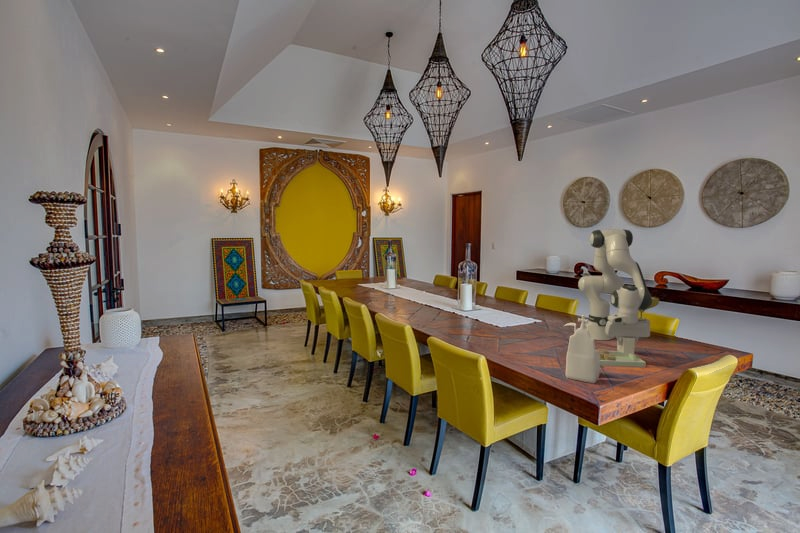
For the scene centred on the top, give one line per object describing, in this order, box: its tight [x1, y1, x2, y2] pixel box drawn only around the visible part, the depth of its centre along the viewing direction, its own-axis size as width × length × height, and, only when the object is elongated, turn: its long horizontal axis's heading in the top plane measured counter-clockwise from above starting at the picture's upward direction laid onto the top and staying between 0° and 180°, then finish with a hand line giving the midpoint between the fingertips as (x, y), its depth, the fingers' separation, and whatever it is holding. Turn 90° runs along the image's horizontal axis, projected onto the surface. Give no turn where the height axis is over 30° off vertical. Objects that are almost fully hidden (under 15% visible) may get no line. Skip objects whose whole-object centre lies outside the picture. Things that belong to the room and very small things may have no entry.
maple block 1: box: [597, 348, 610, 354], centre depth 208 cm, size 4×4×4 cm
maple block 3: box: [604, 354, 616, 361], centre depth 199 cm, size 4×4×4 cm
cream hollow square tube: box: [619, 337, 635, 355], centre depth 200 cm, size 5×5×8 cm
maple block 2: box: [598, 351, 606, 360], centre depth 203 cm, size 4×4×4 cm
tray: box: [599, 350, 647, 368], centre depth 203 cm, size 17×22×4 cm
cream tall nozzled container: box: [563, 314, 601, 384], centre depth 184 cm, size 17×14×30 cm
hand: (626, 345), depth 200 cm, fingers closed on cream hollow square tube, 5 cm apart
